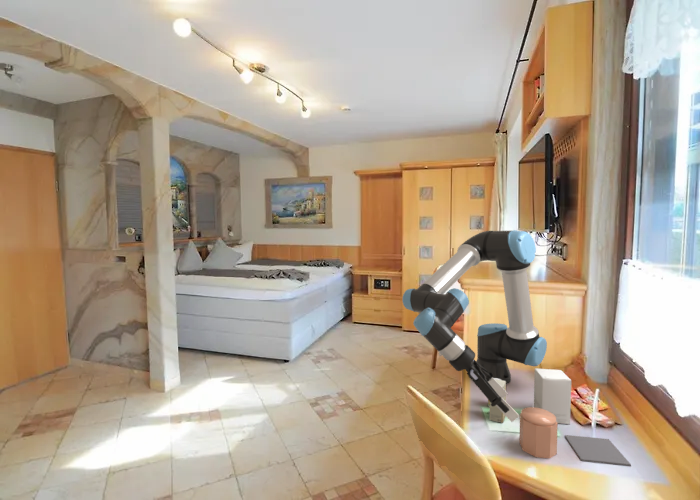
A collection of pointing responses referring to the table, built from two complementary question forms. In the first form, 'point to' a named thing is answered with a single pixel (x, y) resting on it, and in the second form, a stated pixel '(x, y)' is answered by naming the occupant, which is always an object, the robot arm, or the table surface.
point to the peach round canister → (538, 432)
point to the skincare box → (494, 411)
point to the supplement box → (553, 393)
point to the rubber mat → (596, 450)
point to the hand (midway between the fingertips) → (509, 406)
